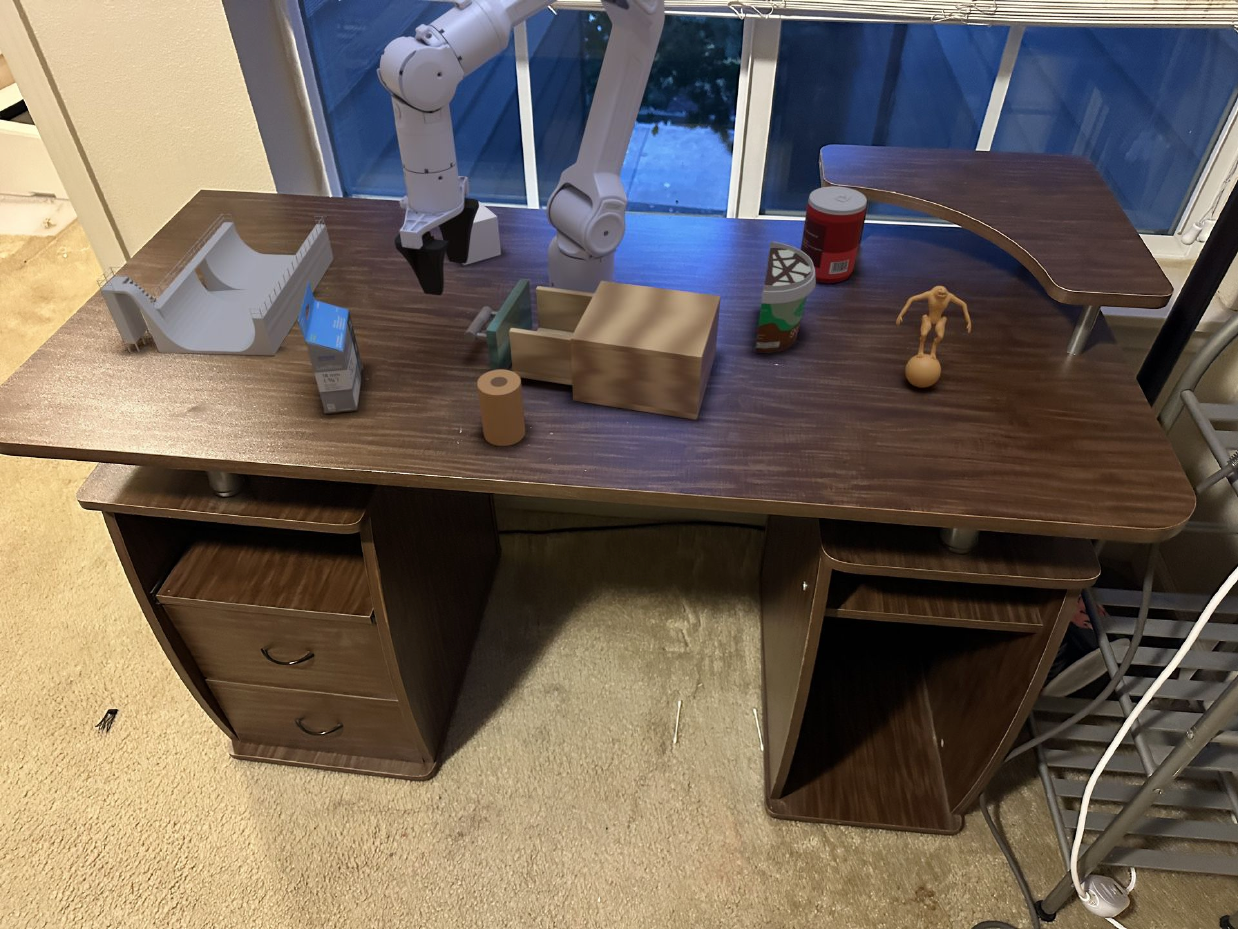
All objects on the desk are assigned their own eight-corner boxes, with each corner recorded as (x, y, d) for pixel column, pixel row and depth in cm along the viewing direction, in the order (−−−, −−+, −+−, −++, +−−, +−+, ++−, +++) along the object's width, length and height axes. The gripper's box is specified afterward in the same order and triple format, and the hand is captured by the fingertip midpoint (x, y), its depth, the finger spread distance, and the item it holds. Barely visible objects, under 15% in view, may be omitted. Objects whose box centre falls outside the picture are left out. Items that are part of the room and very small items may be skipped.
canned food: (860, 266, 123) (875, 193, 116) (839, 290, 118) (854, 215, 111) (810, 252, 126) (822, 181, 119) (788, 275, 121) (799, 201, 114)
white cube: (501, 254, 126) (497, 216, 122) (464, 265, 123) (459, 226, 119) (482, 238, 130) (478, 201, 126) (446, 248, 127) (441, 210, 123)
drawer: (457, 373, 102) (450, 324, 97) (492, 321, 110) (487, 274, 106) (601, 395, 99) (600, 346, 94) (625, 340, 107) (626, 292, 103)
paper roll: (477, 428, 95) (470, 377, 91) (514, 415, 97) (509, 364, 93) (494, 451, 93) (488, 399, 88) (532, 437, 94) (528, 386, 90)
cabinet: (572, 400, 99) (570, 338, 94) (601, 340, 109) (601, 280, 103) (696, 420, 97) (701, 357, 91) (715, 356, 106) (720, 295, 100)
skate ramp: (274, 355, 106) (251, 284, 99) (127, 351, 107) (95, 280, 100) (333, 258, 125) (318, 193, 118) (208, 255, 125) (186, 190, 119)
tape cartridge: (359, 412, 98) (335, 319, 89) (323, 415, 97) (296, 322, 89) (364, 367, 104) (342, 277, 96) (331, 370, 104) (307, 280, 96)
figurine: (883, 389, 101) (906, 301, 93) (882, 361, 106) (904, 274, 98) (956, 398, 100) (986, 309, 92) (952, 369, 104) (979, 281, 96)
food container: (804, 365, 105) (816, 293, 98) (753, 359, 106) (763, 287, 99) (807, 313, 114) (819, 244, 107) (761, 308, 115) (770, 239, 108)
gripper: (422, 134, 97) (438, 244, 106) (364, 186, 86) (387, 303, 95) (480, 140, 96) (492, 251, 105) (429, 193, 85) (446, 311, 94)
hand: (446, 276), depth 100 cm, fingers open, 7 cm apart
